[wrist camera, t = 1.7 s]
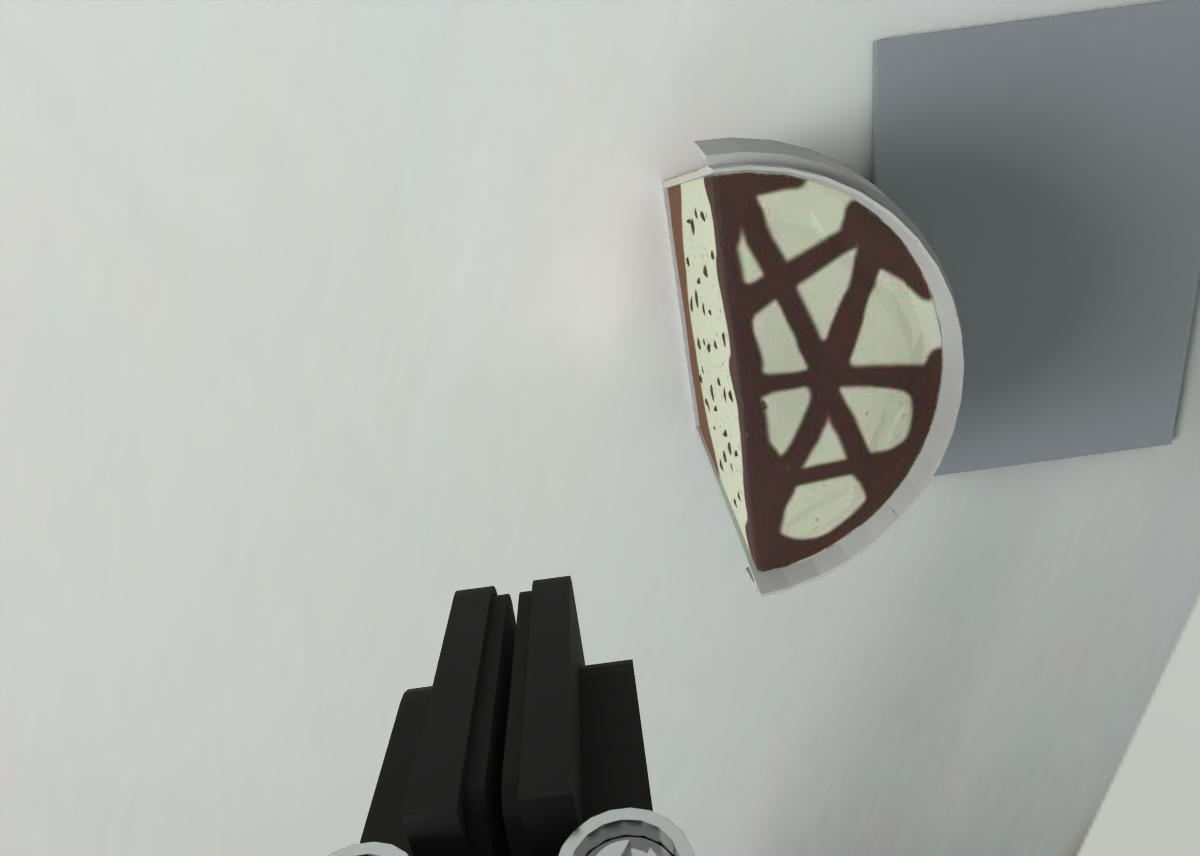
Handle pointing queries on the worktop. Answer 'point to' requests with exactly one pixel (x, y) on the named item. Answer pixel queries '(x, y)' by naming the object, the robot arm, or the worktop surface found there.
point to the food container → (810, 352)
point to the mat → (1054, 218)
